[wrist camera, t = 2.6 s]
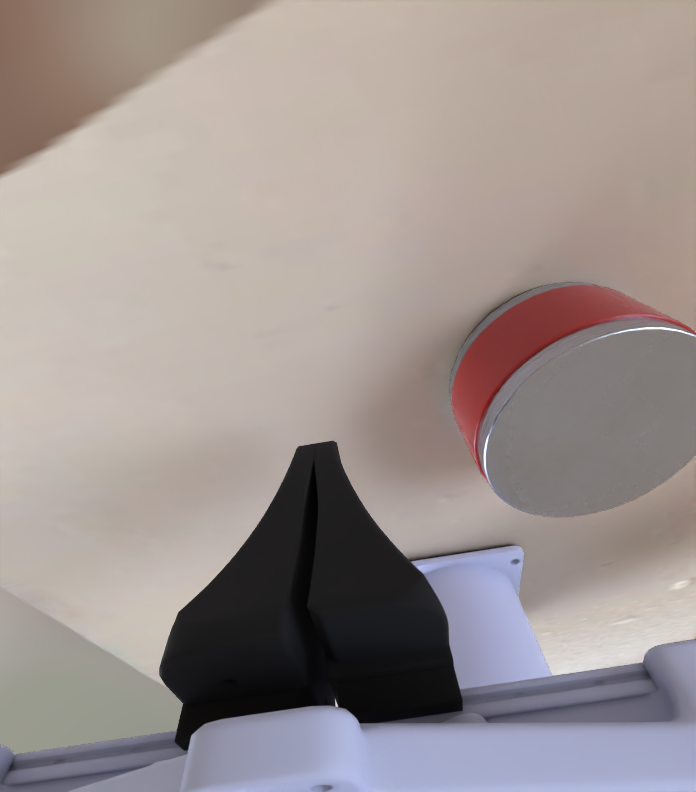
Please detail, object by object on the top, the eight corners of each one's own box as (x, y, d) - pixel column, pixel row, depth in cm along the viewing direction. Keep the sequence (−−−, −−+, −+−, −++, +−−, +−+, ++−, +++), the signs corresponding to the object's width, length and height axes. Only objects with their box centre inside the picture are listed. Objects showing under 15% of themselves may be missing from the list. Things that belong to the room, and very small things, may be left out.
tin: (617, 433, 19) (687, 501, 15) (447, 460, 19) (477, 534, 15) (665, 260, 14) (779, 300, 11) (444, 299, 15) (484, 350, 11)
